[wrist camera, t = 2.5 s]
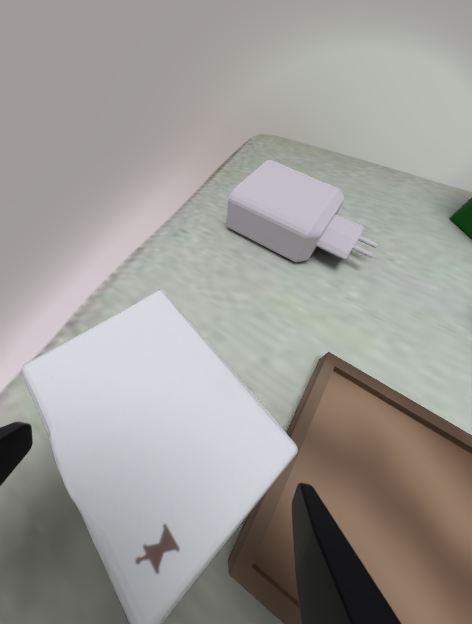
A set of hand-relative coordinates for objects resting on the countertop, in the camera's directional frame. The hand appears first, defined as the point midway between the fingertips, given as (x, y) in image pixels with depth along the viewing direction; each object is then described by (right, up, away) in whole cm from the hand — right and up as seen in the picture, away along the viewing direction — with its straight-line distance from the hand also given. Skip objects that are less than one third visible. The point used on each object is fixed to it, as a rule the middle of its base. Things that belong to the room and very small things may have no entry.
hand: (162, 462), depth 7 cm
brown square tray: (+12, -7, +7) cm, 15 cm away
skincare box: (-1, -3, +8) cm, 9 cm away
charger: (+10, +14, +19) cm, 26 cm away
